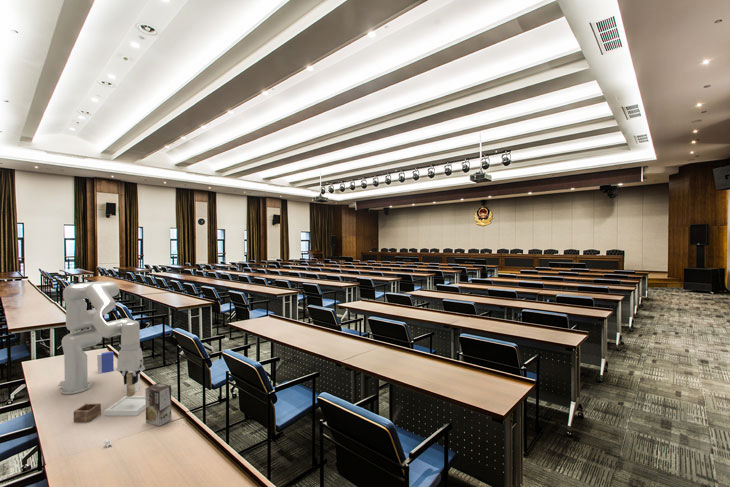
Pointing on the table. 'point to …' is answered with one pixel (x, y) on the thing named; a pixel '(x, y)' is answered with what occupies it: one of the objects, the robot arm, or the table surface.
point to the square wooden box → (87, 412)
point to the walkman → (105, 362)
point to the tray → (127, 406)
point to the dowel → (130, 385)
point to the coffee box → (158, 404)
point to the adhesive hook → (107, 443)
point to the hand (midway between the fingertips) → (130, 382)
